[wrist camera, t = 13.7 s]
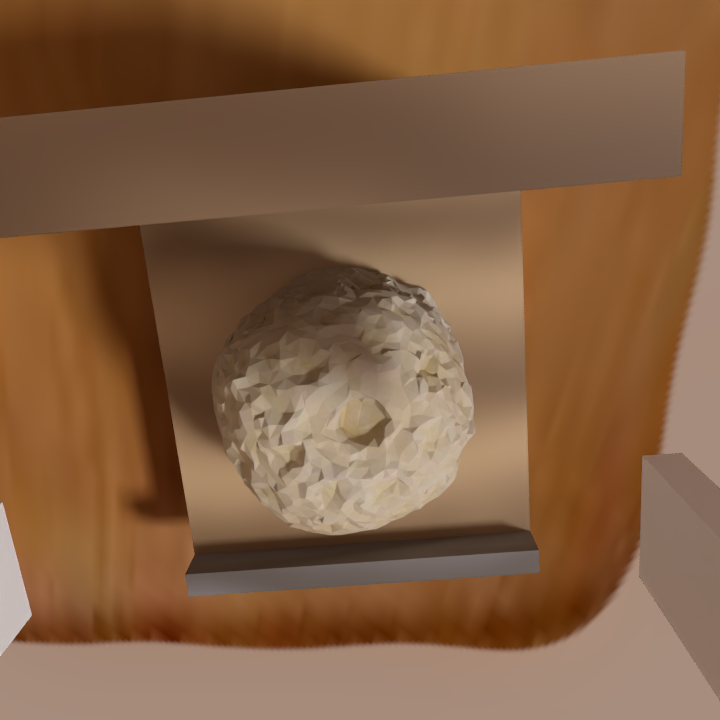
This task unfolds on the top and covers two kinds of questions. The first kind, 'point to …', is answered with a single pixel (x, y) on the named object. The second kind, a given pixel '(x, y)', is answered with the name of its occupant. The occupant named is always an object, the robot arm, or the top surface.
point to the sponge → (343, 401)
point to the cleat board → (347, 263)
